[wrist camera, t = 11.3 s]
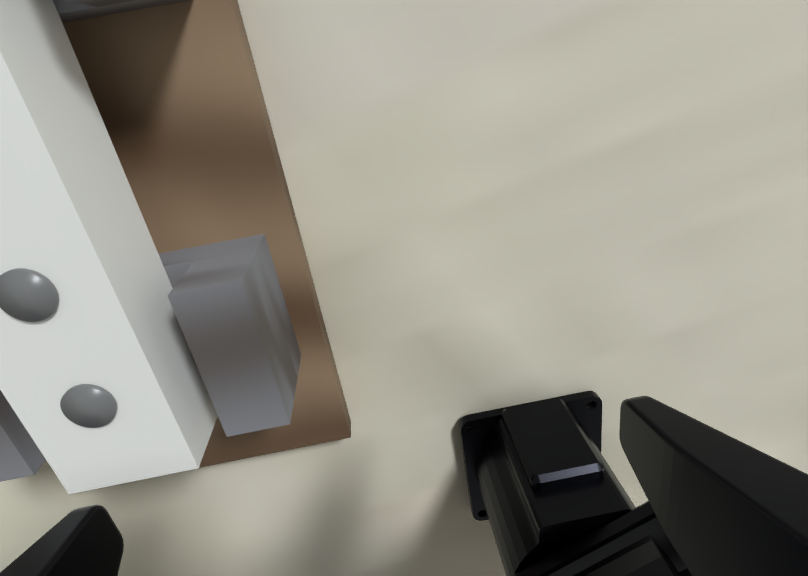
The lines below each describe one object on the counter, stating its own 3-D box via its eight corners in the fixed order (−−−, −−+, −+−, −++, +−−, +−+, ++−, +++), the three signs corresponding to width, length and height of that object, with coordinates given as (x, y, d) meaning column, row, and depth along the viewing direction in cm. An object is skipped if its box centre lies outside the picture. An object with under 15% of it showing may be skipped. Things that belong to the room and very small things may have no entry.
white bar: (221, 405, 18) (196, 474, 15) (111, 427, 18) (64, 500, 15) (-69, -290, 10) (-245, -437, 7) (-268, -257, 10) (-531, -392, 7)
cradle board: (350, 421, 22) (351, 516, 17) (82, 474, 21) (10, 585, 17) (99, -510, 10) (-89, -942, 6) (-474, -424, 10) (-1127, -809, 6)
